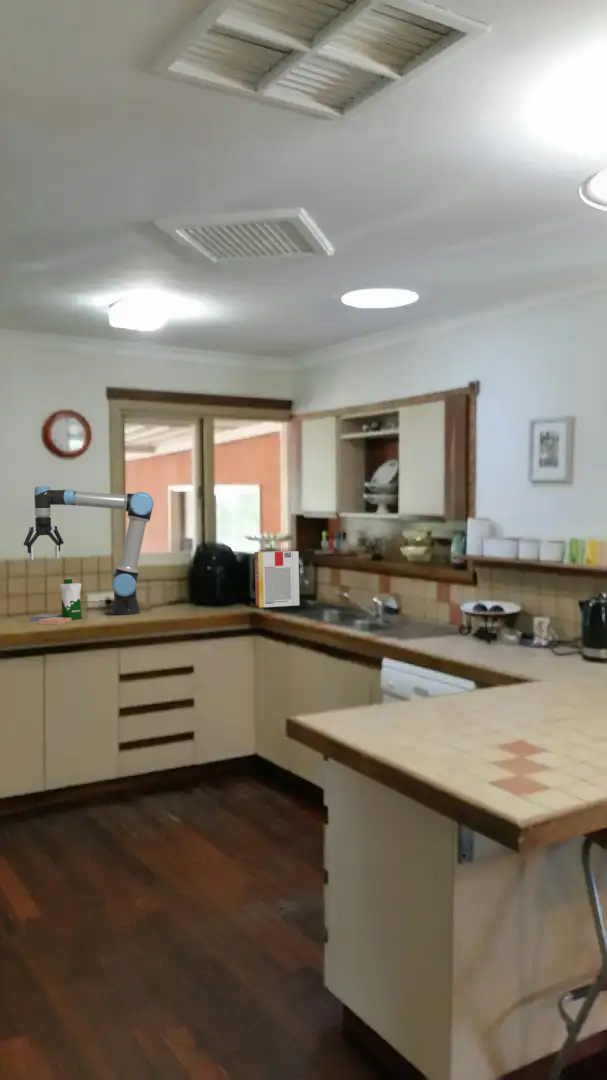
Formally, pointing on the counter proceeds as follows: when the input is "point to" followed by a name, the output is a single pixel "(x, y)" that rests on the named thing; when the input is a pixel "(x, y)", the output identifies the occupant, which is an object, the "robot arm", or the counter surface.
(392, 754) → the counter surface
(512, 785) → the counter surface
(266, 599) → the pasta box
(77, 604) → the soya milk
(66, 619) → the terracotta tile
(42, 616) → the slate tile
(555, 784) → the counter surface
